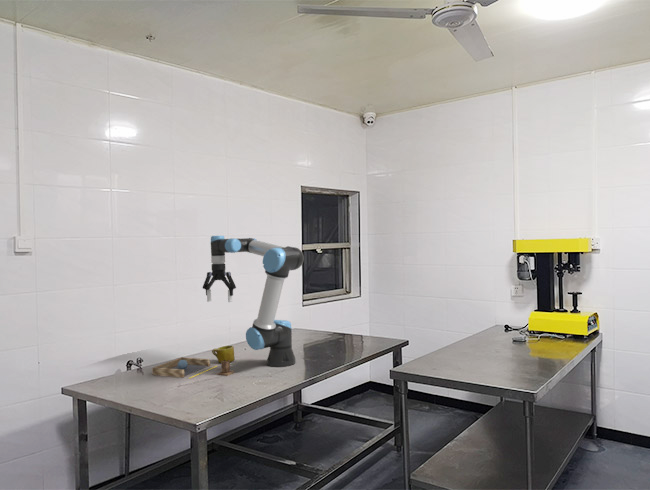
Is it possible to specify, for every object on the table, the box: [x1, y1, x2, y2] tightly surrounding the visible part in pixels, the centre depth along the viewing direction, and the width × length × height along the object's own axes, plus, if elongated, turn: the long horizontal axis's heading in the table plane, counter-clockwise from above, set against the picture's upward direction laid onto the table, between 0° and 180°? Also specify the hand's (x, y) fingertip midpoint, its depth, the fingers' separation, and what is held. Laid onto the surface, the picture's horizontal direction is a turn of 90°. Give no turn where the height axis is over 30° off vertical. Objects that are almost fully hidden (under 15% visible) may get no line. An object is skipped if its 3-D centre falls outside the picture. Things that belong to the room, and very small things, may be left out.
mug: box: [211, 345, 235, 364], centre depth 271 cm, size 12×10×10 cm
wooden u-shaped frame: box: [151, 356, 211, 378], centre depth 255 cm, size 18×23×4 cm
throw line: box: [188, 365, 218, 379], centre depth 250 cm, size 1×24×1 cm, turn 159°
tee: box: [217, 360, 235, 377], centre depth 245 cm, size 6×6×6 cm
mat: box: [170, 364, 208, 377], centre depth 255 cm, size 16×20×1 cm
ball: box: [177, 360, 188, 370], centre depth 255 cm, size 5×5×5 cm
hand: (219, 301), depth 274 cm, fingers open, 13 cm apart
